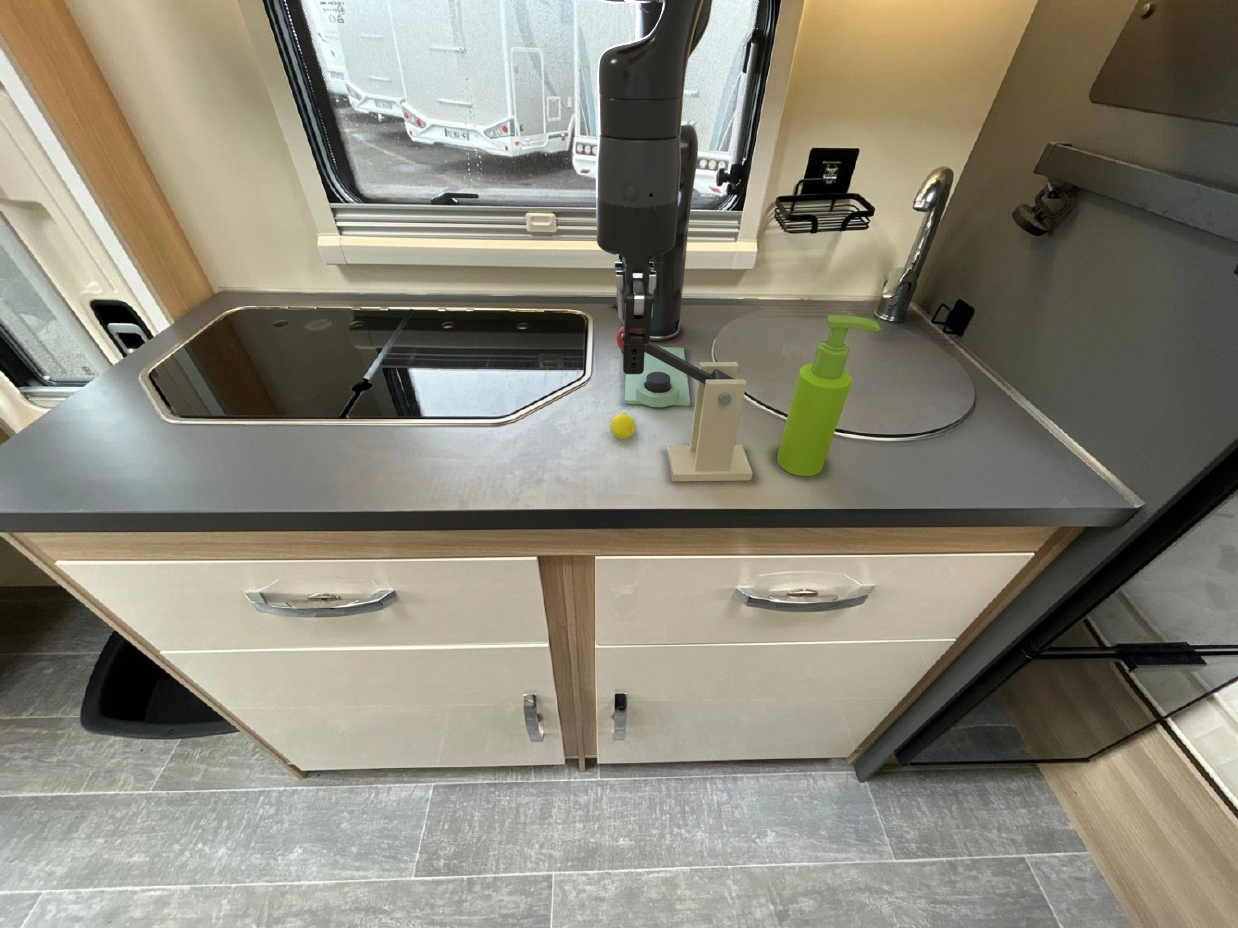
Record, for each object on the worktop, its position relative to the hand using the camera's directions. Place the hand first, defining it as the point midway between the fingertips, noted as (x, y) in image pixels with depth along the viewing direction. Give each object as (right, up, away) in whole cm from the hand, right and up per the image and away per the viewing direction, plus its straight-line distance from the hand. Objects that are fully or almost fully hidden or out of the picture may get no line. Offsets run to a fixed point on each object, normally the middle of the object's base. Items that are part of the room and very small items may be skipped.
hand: (631, 361), depth 58 cm
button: (+4, 0, +21) cm, 22 cm away
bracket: (+10, -12, +10) cm, 18 cm away
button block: (+5, +3, +28) cm, 29 cm away
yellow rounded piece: (-1, -7, +16) cm, 17 cm away
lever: (+4, -1, +1) cm, 5 cm away
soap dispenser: (+23, -11, +11) cm, 28 cm away
